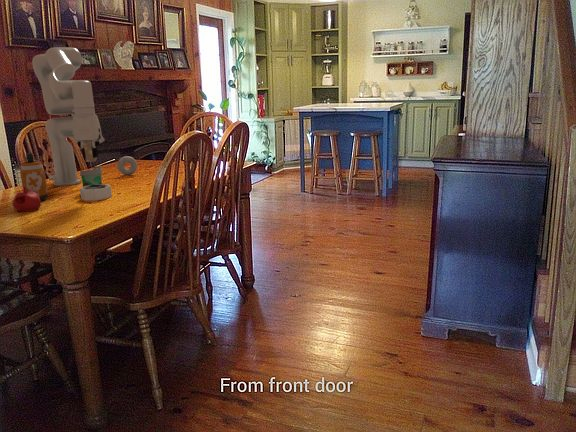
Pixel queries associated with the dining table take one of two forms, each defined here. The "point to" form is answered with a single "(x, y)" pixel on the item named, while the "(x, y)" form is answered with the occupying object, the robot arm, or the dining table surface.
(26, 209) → the pomegranate
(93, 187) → the hollow square tube
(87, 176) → the food container
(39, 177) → the canister
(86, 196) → the white octagonal tray
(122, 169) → the donut
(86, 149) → the grey rectangular block
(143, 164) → the dining table surface
